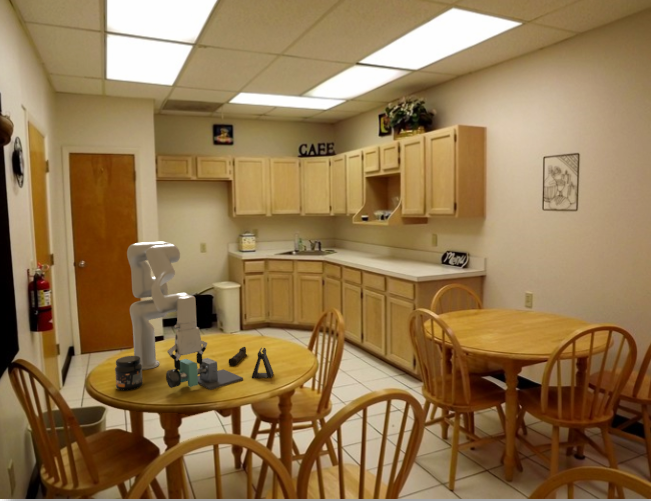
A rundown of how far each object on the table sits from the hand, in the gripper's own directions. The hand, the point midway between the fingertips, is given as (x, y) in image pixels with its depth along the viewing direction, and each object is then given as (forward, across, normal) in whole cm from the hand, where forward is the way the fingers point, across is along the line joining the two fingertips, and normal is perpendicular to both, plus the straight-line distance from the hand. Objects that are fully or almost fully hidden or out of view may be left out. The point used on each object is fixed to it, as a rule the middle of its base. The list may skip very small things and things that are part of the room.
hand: (188, 366), depth 194 cm
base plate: (+9, +13, 0) cm, 16 cm away
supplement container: (+10, -17, +20) cm, 28 cm away
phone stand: (+10, +30, -10) cm, 33 cm away
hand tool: (+10, +35, +18) cm, 41 cm away
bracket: (+8, +9, 0) cm, 12 cm away
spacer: (+7, 0, 0) cm, 7 cm away
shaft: (+7, +1, 0) cm, 7 cm away
